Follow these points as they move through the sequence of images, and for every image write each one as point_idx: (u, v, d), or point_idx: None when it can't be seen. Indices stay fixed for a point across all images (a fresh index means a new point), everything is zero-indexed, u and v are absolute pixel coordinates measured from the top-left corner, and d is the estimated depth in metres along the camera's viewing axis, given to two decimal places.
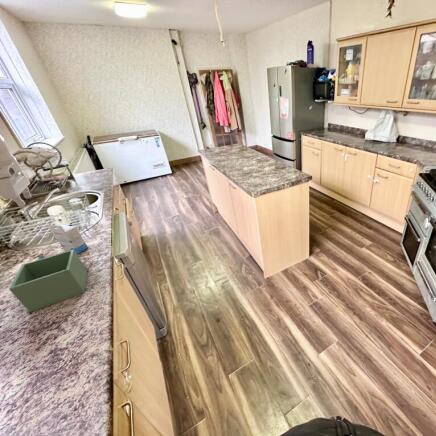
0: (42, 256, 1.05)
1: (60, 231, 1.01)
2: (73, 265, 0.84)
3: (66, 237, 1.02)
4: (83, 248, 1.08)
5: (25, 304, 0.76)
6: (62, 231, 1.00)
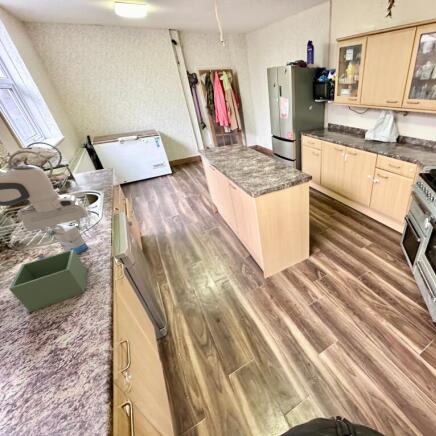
0: (42, 256, 1.05)
1: (60, 231, 1.01)
2: (73, 265, 0.84)
3: (66, 237, 1.02)
4: (83, 248, 1.08)
5: (25, 304, 0.76)
6: (62, 231, 1.00)
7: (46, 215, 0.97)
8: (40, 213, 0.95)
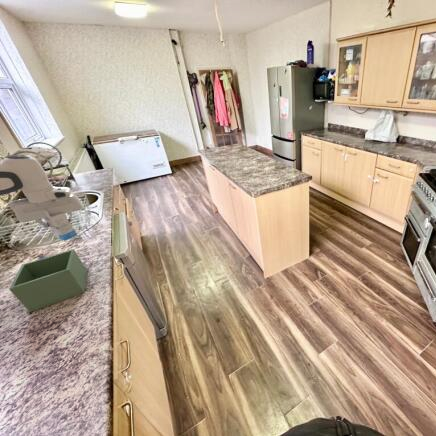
0: (42, 256, 1.05)
1: (47, 216, 0.97)
2: (73, 265, 0.84)
3: (53, 223, 0.97)
4: (71, 236, 1.03)
5: (25, 304, 0.76)
6: (49, 216, 0.96)
7: (39, 206, 0.95)
8: (33, 204, 0.93)
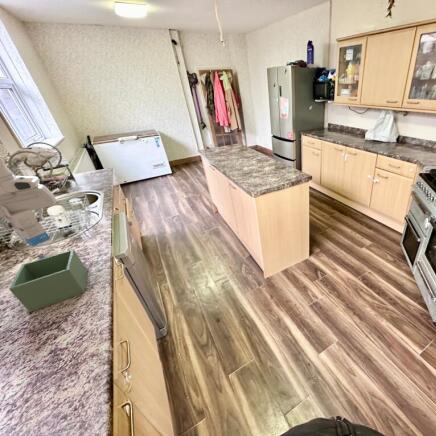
0: (42, 256, 1.05)
1: (7, 214, 0.73)
2: (73, 265, 0.84)
3: (15, 223, 0.74)
4: (42, 239, 0.80)
5: (25, 304, 0.76)
6: (8, 214, 0.73)
7: None
8: None
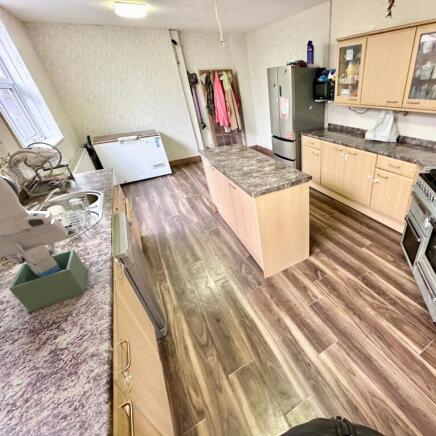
0: None
1: (21, 250, 0.74)
2: (73, 265, 0.84)
3: (28, 258, 0.75)
4: (54, 272, 0.81)
5: (25, 304, 0.76)
6: (22, 250, 0.74)
7: (9, 238, 0.72)
8: (1, 236, 0.71)
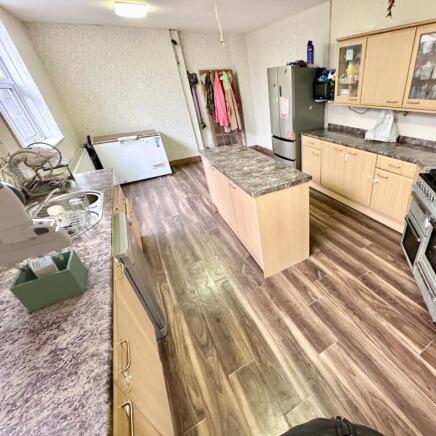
0: (42, 256, 1.05)
1: None
2: (73, 265, 0.84)
3: (37, 276, 0.78)
4: None
5: (25, 304, 0.76)
6: (32, 269, 0.77)
7: (15, 246, 0.74)
8: (7, 244, 0.72)
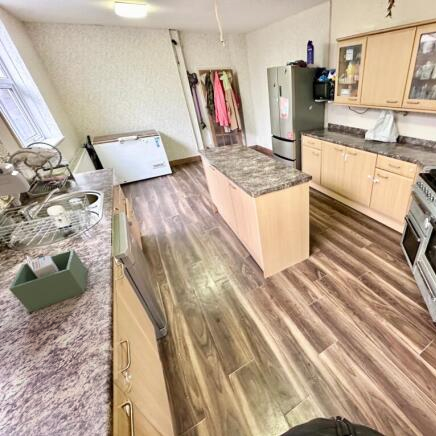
0: (42, 256, 1.05)
1: (32, 268, 0.78)
2: (73, 265, 0.84)
3: (37, 276, 0.78)
4: None
5: (25, 304, 0.76)
6: (32, 269, 0.77)
7: None
8: None
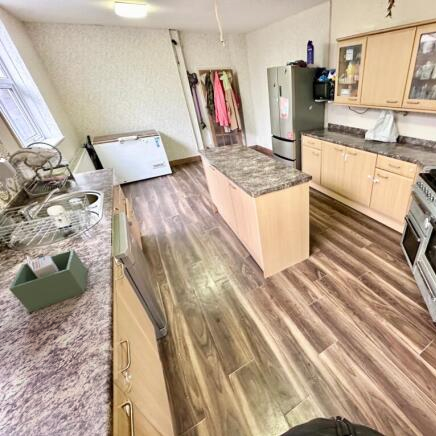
0: (42, 256, 1.05)
1: None
2: (73, 265, 0.84)
3: (37, 276, 0.78)
4: None
5: (25, 304, 0.76)
6: (32, 269, 0.77)
7: None
8: None
